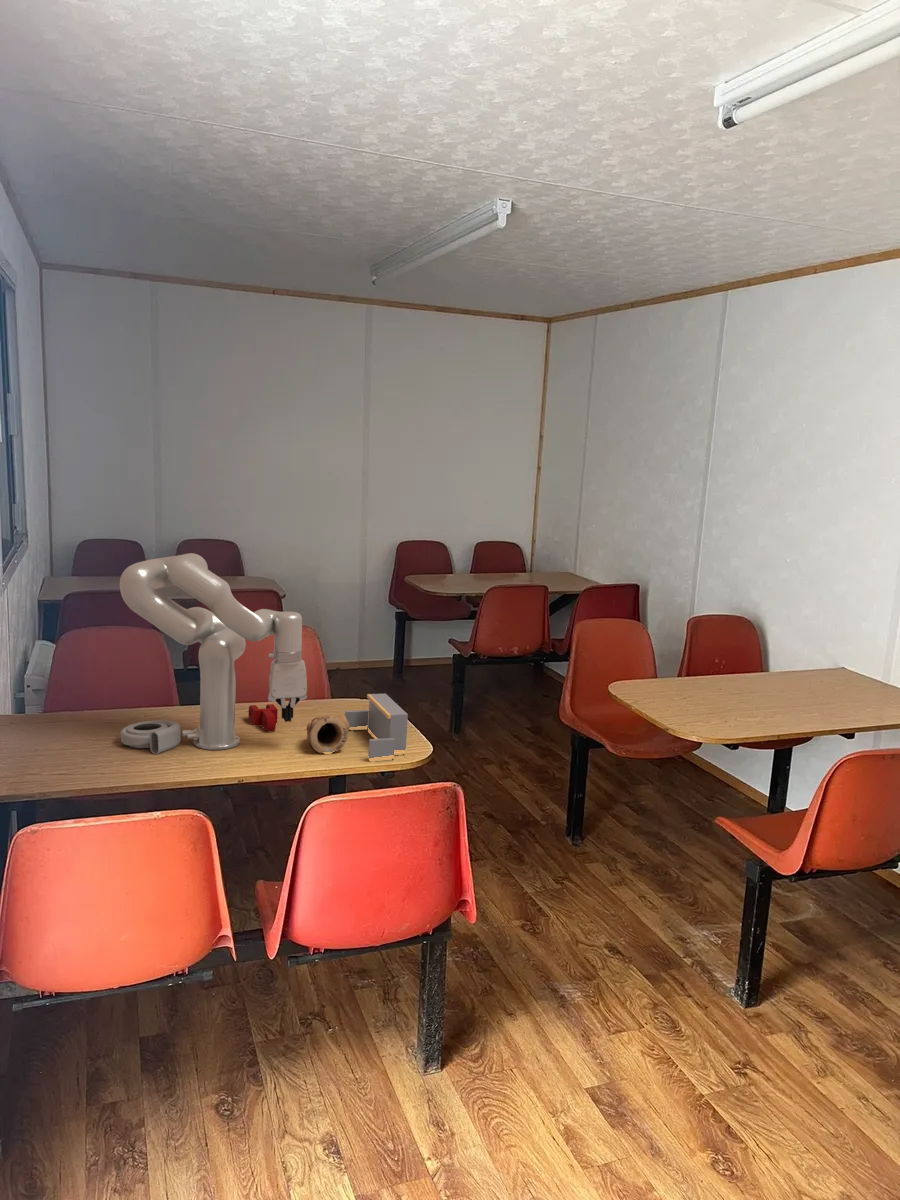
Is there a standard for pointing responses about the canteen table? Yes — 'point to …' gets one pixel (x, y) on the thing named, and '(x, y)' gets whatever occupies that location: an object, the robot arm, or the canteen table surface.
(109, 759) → the canteen table surface
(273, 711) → the mechanical linkage
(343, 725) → the clay pipe
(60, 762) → the canteen table surface
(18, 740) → the canteen table surface
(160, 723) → the turbocharger housing
